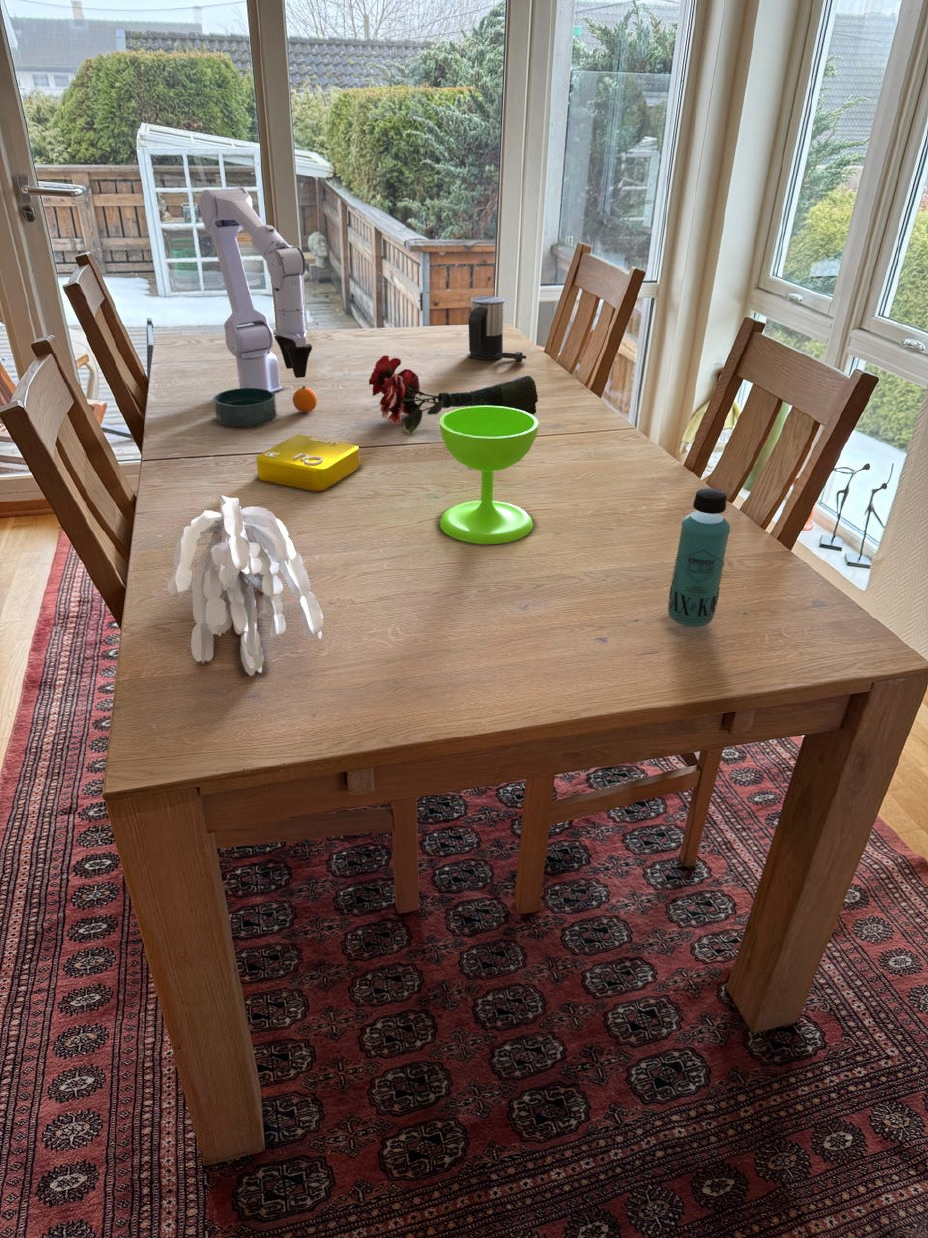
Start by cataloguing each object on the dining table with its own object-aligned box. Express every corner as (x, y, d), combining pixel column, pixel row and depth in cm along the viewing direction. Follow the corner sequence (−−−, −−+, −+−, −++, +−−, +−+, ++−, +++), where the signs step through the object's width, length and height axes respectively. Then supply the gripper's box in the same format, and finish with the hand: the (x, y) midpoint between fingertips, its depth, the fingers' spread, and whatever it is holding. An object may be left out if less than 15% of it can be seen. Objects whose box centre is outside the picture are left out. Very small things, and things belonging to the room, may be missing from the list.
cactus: (147, 511, 136) (132, 627, 107) (244, 440, 134) (255, 539, 105) (223, 589, 145) (228, 716, 116) (314, 523, 143) (343, 636, 114)
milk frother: (472, 350, 252) (472, 294, 245) (529, 353, 250) (531, 296, 243) (465, 364, 240) (465, 306, 232) (524, 367, 238) (527, 308, 231)
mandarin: (304, 406, 209) (302, 381, 206) (323, 410, 207) (321, 385, 204) (288, 412, 205) (286, 387, 202) (307, 417, 203) (305, 391, 200)
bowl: (246, 406, 209) (243, 384, 206) (289, 416, 203) (287, 394, 200) (204, 421, 199) (200, 399, 197) (248, 432, 194) (245, 409, 191)
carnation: (522, 447, 209) (373, 454, 199) (506, 377, 215) (359, 381, 204) (545, 409, 195) (386, 415, 185) (527, 336, 200) (371, 338, 190)
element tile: (363, 466, 178) (362, 442, 175) (321, 493, 166) (319, 468, 164) (298, 453, 183) (296, 430, 181) (253, 479, 172) (251, 455, 169)
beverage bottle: (659, 613, 130) (678, 482, 120) (705, 612, 131) (727, 481, 121) (672, 638, 125) (693, 502, 115) (720, 636, 125) (744, 501, 115)
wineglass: (466, 551, 147) (467, 444, 137) (423, 514, 159) (422, 413, 149) (551, 532, 153) (557, 429, 144) (503, 498, 165) (507, 400, 156)
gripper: (263, 303, 198) (270, 365, 205) (279, 317, 187) (285, 383, 194) (295, 300, 201) (300, 362, 207) (313, 314, 189) (318, 379, 196)
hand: (295, 372), depth 201 cm, fingers open, 7 cm apart
